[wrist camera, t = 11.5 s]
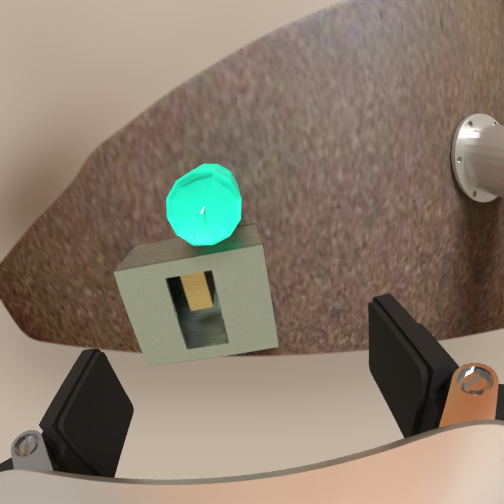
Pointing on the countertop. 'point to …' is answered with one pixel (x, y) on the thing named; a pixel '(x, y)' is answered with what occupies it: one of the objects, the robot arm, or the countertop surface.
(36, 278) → the countertop surface
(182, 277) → the block
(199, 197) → the candle
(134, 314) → the coin box
